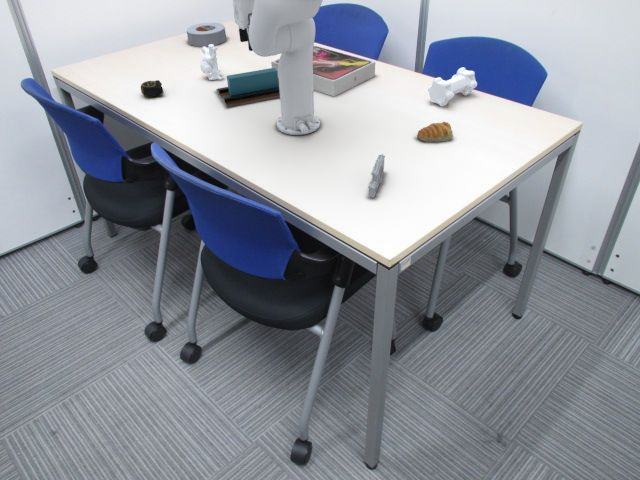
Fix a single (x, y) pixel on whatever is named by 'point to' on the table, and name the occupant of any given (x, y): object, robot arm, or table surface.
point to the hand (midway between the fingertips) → (249, 45)
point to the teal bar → (252, 81)
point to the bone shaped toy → (452, 86)
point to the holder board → (247, 96)
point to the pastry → (436, 132)
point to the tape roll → (206, 34)
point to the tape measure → (151, 88)
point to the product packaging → (337, 70)
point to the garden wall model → (376, 175)
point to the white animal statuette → (210, 62)
